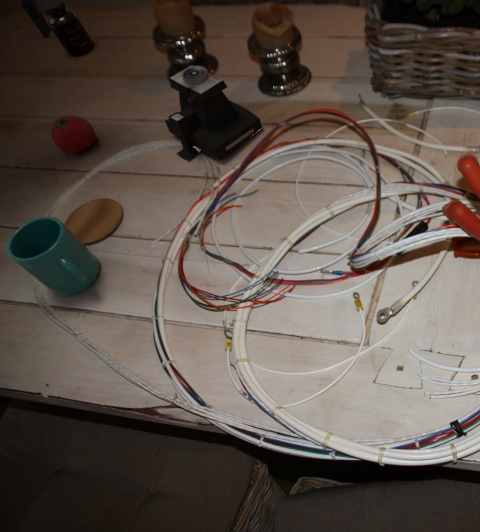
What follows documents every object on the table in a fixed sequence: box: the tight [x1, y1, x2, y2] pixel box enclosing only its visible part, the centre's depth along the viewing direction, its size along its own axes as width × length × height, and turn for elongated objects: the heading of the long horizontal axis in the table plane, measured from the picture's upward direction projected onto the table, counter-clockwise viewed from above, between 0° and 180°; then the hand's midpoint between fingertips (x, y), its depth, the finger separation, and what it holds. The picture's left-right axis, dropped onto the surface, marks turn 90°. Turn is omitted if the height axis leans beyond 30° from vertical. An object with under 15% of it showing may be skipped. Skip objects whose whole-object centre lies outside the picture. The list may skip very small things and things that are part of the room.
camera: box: [164, 64, 263, 161], centre depth 109 cm, size 16×14×15 cm
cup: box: [6, 216, 100, 297], centre depth 91 cm, size 9×12×11 cm
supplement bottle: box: [41, 0, 94, 57], centre depth 133 cm, size 7×7×12 cm
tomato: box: [51, 114, 96, 155], centre depth 114 cm, size 8×8×7 cm
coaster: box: [64, 197, 124, 246], centre depth 103 cm, size 11×11×1 cm
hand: (11, 41), depth 99 cm, fingers open, 13 cm apart
